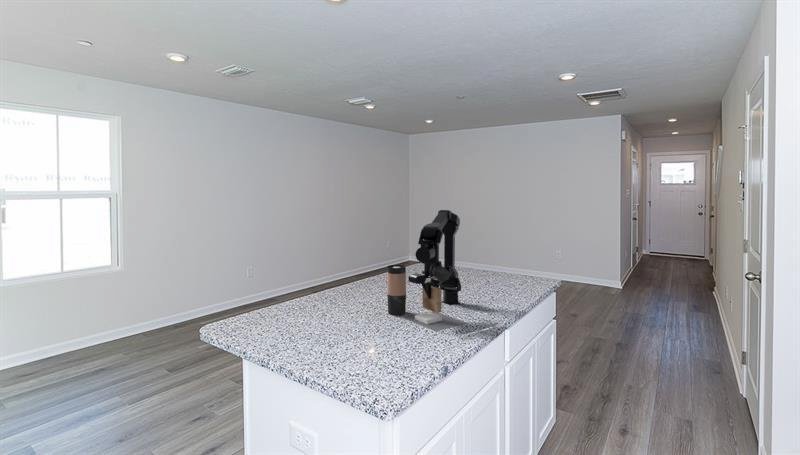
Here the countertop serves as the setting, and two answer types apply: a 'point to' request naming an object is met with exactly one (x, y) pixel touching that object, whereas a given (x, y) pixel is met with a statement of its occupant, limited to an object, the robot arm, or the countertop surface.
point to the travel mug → (396, 289)
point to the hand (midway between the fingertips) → (431, 298)
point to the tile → (428, 318)
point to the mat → (440, 325)
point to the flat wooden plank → (432, 300)
